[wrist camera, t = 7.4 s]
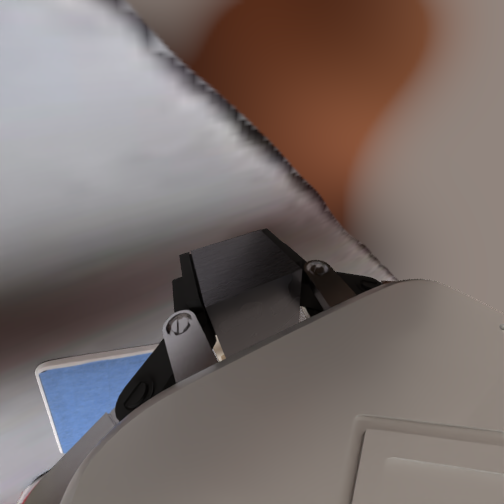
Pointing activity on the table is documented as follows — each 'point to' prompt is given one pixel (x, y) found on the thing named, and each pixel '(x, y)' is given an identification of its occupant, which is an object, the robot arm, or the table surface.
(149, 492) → the robot arm
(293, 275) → the shaft
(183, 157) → the table surface
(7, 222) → the table surface
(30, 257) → the table surface
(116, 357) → the tablet computer
